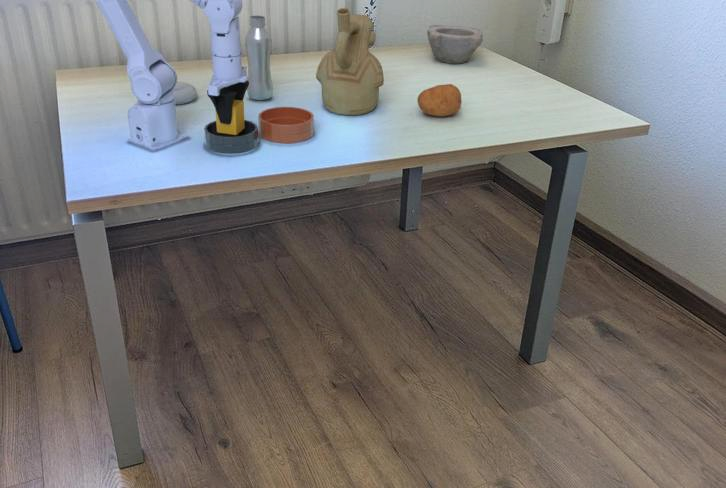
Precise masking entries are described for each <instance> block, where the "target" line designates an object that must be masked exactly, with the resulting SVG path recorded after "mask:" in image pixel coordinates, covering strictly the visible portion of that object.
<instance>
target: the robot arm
mask: <svg viewBox="0 0 726 488" xmlns="http://www.w3.org/2000/svg"><path fill="white" fill-rule="evenodd" d="M94 1H95V3H96V5H97V6H98V8H99V10H100V12H101V14H102V16H103V17H104V19H105V21H106V23H107V24H108V27H109V29H110V30H111V32H112V34H113V35H114V38H115V39H116V41H117V43H118V45H119V46H120V48H121V50H122V52H123V54H124V56H125V58H126V59H127V63H126V74H127V77H128V78H129V81H130V87H131V88H130V89H131V92H132V94H133V95H134V97H135V98H136V99H137V102H136V103H135V104H134V105H132V106H130V107H129V108H128V111H127V120H128V126H129V134H130V138H129V139H128V142H129V143H135V144H137V145H140V146H143V147H146V148H148V149H151V150H157V149H159V148H162V147H165V146H168V145H170V144H173V143H175V142H177V141H181V140H183V139H185V138H188V135H187V134H184V133H181V132H179V129H178V117H177V109H176V104H175V99H174V94H173V88H174V87H175V85H176V83H177V82H178V75H177V72H176V69H174V67H173V66H172V65H171V64H170V63H168V62H167V60H166V59H165V58H164V56H163V54H162V53H160V52H159V51H158V50H156V49H154V47H152V45H151V43H150V41H149V39H148V37H147V35H146V34H145V31H144V30H143V28H142V26H141V24H140V22H139V20H138V18H137V16H136V14H135V13H134V10H133V9H132V6H131V5H130V3H129V2H128V0H94ZM189 1H190V2H191V3H193V4H195V5H196V7H199V8H200V9H201V10H203V12H204V15H205V17H206V18H207V19H208V21H209V29H210V31H209V32H210V33H209V34H210V48H211V61H212V62H211V63H212V76H211V79H210V82H209V84H207V89H206V94H207V95H206V96H208V98H209V99H210V100H211V102H212V104H213V106H214V108H215V109H216V110H215V112H216V111H217V114H218V117H219V120H220V123H224V124H230V123H231V119H232V106H233V101H234V100H241V101H244V98H245V95H246V92H247V88H248V86H249V81H248V72H247V66H242V43H241V41H242V40H241V29H240V17H239V15H240V13H242V10H243V0H189Z"/></svg>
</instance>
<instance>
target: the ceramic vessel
mask: <svg viewBox="0 0 726 488" xmlns="http://www.w3.org/2000/svg"><path fill="white" fill-rule="evenodd" d="M336 18H337V19H336V20H337V26H338V31H337V36H336V39H335V48H334V49H331V50H330V51H329V52H327V53H326V54H325V55H324V56H322V58H321V60H320V62H319V64H318V65H317V70H316V73H315V78H316V80H317V81H318V83H320V85H321V100H322V104H323V106H324V108H325V109H326V110H328V112H331V113H334V114H337V115H342V116H362V115H366V114H368V113H370V112H372V111H373V110H374V109H375V108H376V106H377V105H378V103H379V102H378V101H379V97H380V87H382V86H383V85H384V83H385V79H384V71H383V67H382V64H381V62H380V60H379V58H377V57H376V56H375V55H374V54H373V53H372V52H370V50H369V48H371V47H370V46H374V45H375V44H376V39H377V32H376V31H375V30H374V31H373V29H374V27H375V25H374V23H373V21H372V19H371V18H370V17H368V16H367V15H365V14H361V13H356V14H353V15H351V10H350V9H349V8H346V7H341V8H338V9H337V10H336Z"/></svg>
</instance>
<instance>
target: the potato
mask: <svg viewBox="0 0 726 488" xmlns="http://www.w3.org/2000/svg"><path fill="white" fill-rule="evenodd" d="M416 101H417V105H418V107H419V109H420V110H421V111H422V112H423V113H425V114H426V115H429V116H432V117H440V118H443V117H448V116H451V115H454V114H456V113H457V112H458V111H459V110H460V109H461V107H462V94H461V91H460V89H459V88H458V87H457V86H456V85H454V84H452V83H447V84H437V85H435V86H432V87H429V88H426V89H424V90H423V91H421V92H420V93H419V94H418V96H417V100H416Z"/></svg>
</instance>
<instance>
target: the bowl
mask: <svg viewBox="0 0 726 488" xmlns="http://www.w3.org/2000/svg"><path fill="white" fill-rule="evenodd" d="M257 119H258V136H259V137H260V138H262V139H263V140H265V141H267V142H271V143H276V144H296V143H302V142H305V141H307V140H310V139H311V138H312V137H314V135H315V133H314V132H315V115H314V114H313V112H312V111H309V110H308V109H305V108H302V107H296V106H276V107H270V108H267V109H264V110H262V111H260V112H259V113H258V116H257Z"/></svg>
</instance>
